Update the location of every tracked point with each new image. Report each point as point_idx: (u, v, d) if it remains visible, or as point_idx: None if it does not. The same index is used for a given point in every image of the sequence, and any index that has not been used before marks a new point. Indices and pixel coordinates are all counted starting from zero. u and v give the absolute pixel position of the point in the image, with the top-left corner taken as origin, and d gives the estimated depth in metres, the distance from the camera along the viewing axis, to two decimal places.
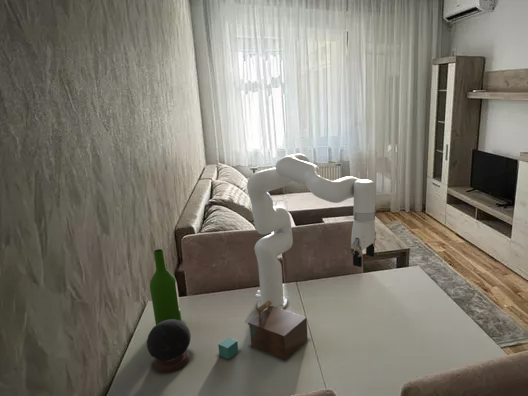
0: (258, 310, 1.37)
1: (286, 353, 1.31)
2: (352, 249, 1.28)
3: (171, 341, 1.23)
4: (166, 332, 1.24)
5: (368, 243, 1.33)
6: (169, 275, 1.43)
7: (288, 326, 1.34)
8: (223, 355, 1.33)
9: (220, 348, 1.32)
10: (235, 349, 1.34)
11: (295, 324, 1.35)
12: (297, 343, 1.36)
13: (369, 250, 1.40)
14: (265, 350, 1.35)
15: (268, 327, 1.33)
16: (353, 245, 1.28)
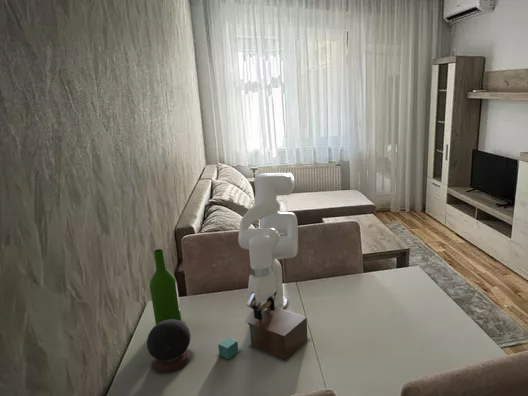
0: None
1: (286, 353, 1.31)
2: (248, 306, 1.32)
3: (171, 340, 1.23)
4: (166, 332, 1.24)
5: (266, 296, 1.36)
6: (169, 275, 1.43)
7: (288, 326, 1.34)
8: (223, 355, 1.33)
9: (220, 348, 1.32)
10: (235, 349, 1.34)
11: (295, 324, 1.35)
12: (297, 343, 1.36)
13: None
14: (265, 350, 1.35)
15: (268, 327, 1.33)
16: (249, 302, 1.32)
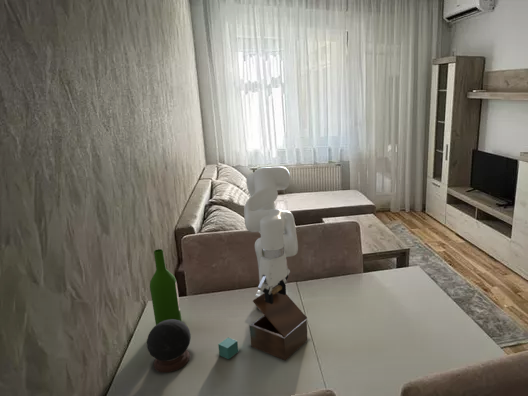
0: None
1: (286, 353, 1.31)
2: (260, 289, 1.27)
3: (171, 341, 1.23)
4: (166, 332, 1.24)
5: (277, 279, 1.32)
6: (169, 275, 1.43)
7: (289, 323, 1.33)
8: (223, 355, 1.33)
9: (220, 348, 1.32)
10: (235, 349, 1.34)
11: (296, 323, 1.35)
12: (297, 343, 1.36)
13: None
14: (265, 350, 1.35)
15: (271, 316, 1.31)
16: (260, 285, 1.27)
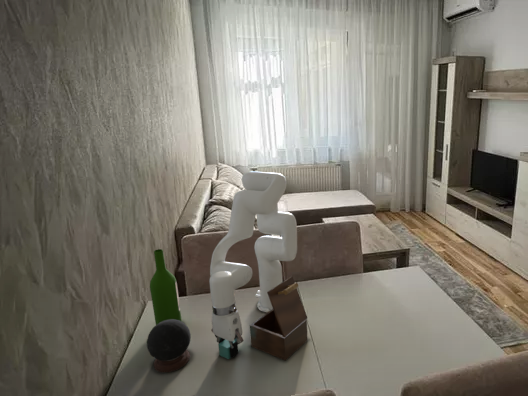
0: (285, 292, 1.28)
1: (286, 353, 1.31)
2: None
3: (171, 341, 1.23)
4: (166, 332, 1.24)
5: (219, 334, 1.31)
6: (169, 275, 1.43)
7: (292, 323, 1.33)
8: (223, 355, 1.33)
9: (220, 348, 1.32)
10: None
11: (297, 323, 1.35)
12: (297, 343, 1.36)
13: None
14: (265, 350, 1.35)
15: (279, 313, 1.29)
16: None
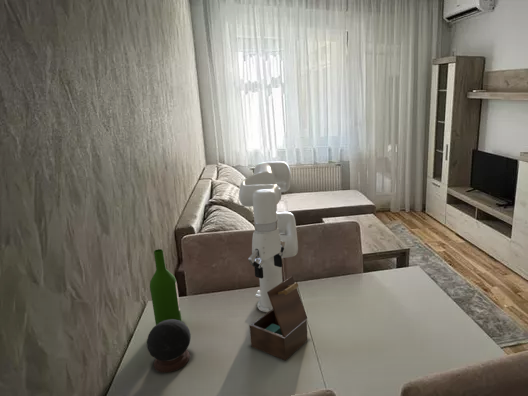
0: (285, 292, 1.28)
1: (286, 353, 1.31)
2: (250, 260, 1.25)
3: (171, 340, 1.23)
4: (166, 332, 1.24)
5: (270, 254, 1.30)
6: (169, 275, 1.43)
7: (292, 323, 1.33)
8: None
9: None
10: None
11: (297, 323, 1.35)
12: (297, 343, 1.36)
13: (276, 260, 1.37)
14: (265, 350, 1.35)
15: (279, 313, 1.29)
16: (251, 256, 1.25)
